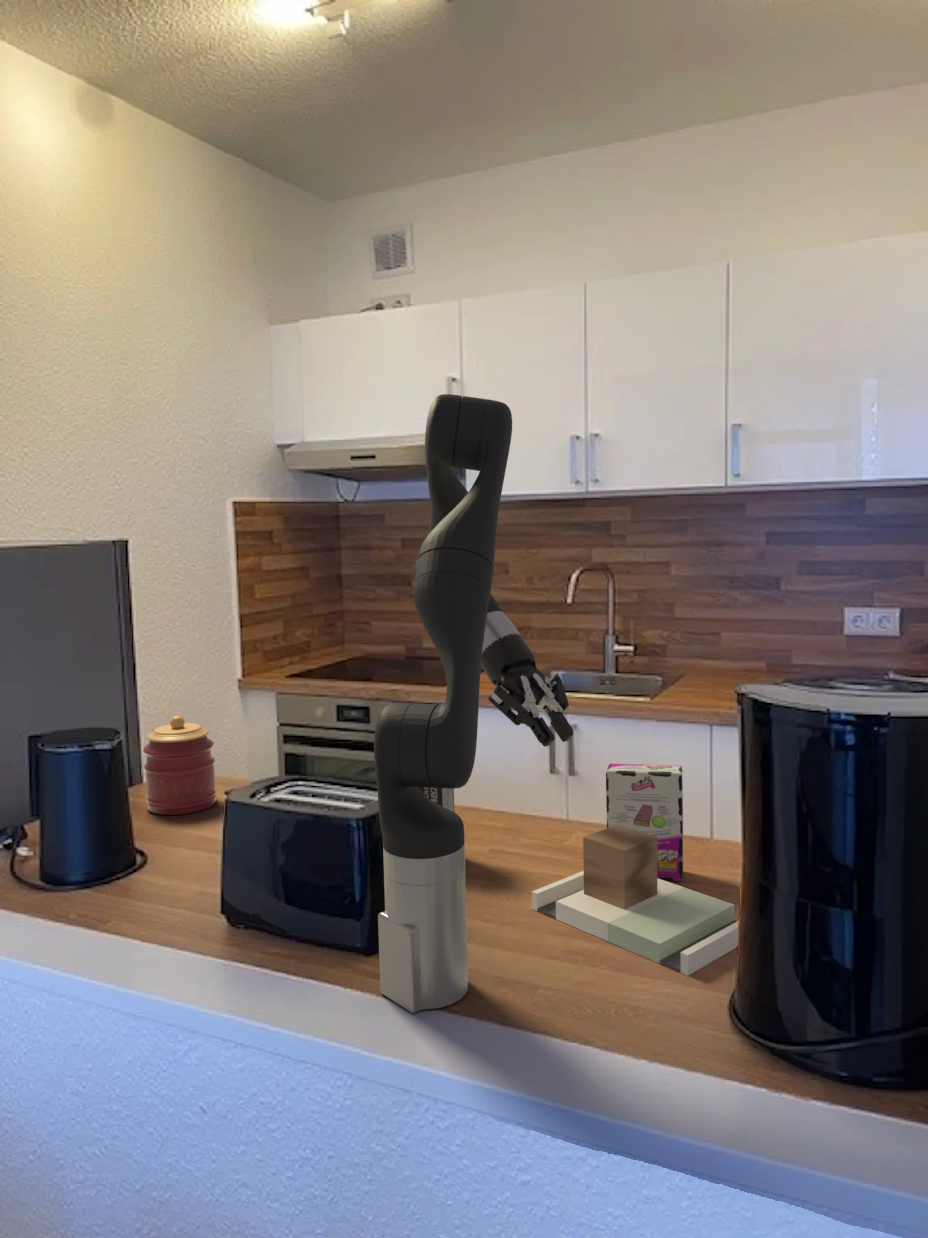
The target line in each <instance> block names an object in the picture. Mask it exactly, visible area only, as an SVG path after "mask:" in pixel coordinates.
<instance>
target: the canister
mask: <svg viewBox="0 0 928 1238" xmlns="http://www.w3.org/2000/svg"><path fill="white" fill-rule="evenodd" d="M209 733H210V732H209V730H208V729H207V728H205V727H203V726H202V725H200V724H198V723H193V722H186V721H185V719H184V717H183V716H181V715H174V716H173V717H172V718H171V719H170V723H169V724H166V725H162V726H158V727H156V728H155V729H154V730H153V731H152V732H150V733H149V734H147V736H146V739H147V740H148V741H149V742H148V743H147V744H146V745H145V746H144V747H143V750H142V751H143V753H144V754H145V755H146V763H145V764H144V765H143V769H144V771H145V783H146V784H145V785H146V796H145V799H146V805H147V809H148V811H149V812H151V813H152V814H155V815H163V816H176V815H177V816H180V815H188V814H193V813H197V812H200V811H204V810H206V809H209V808H211V807H212V806H214V805H215V803H216V801H217V800H216V798H217V788H216V777H215V761H216V760H215V758H214V756H213V753H212V748H213V747H214V745H215V742H214V740H212V739H211V738H208V735H209Z"/></svg>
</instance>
